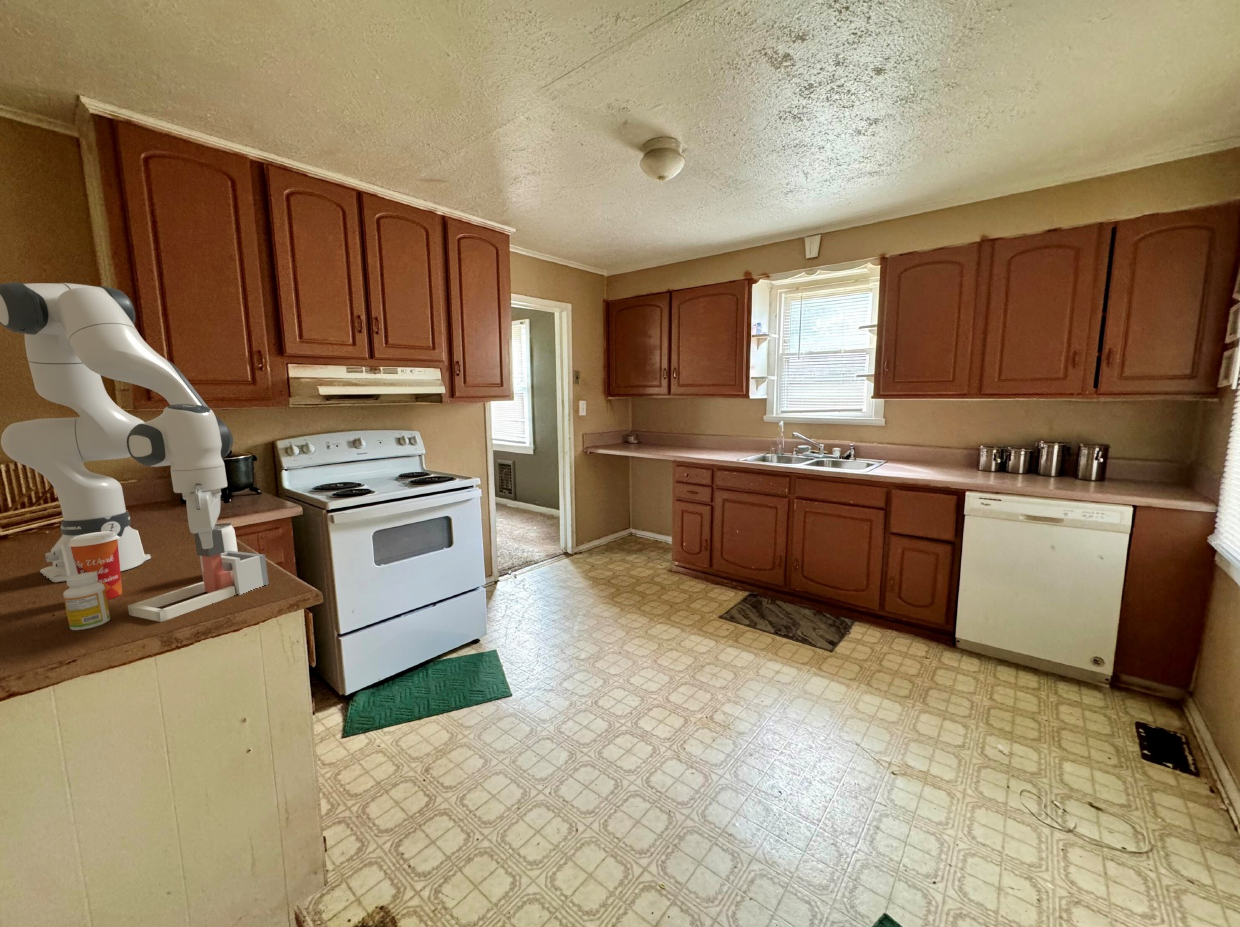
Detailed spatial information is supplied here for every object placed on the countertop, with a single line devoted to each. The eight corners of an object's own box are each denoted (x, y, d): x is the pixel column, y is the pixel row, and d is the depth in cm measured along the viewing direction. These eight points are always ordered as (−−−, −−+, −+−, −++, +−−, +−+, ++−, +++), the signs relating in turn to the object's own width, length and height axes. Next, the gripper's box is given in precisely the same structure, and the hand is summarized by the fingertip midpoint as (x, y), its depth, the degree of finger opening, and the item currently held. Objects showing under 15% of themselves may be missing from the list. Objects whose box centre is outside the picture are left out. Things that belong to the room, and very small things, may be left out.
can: (221, 578, 119) (214, 529, 117) (199, 577, 120) (192, 529, 119) (247, 569, 125) (240, 522, 124) (225, 568, 127) (219, 522, 125)
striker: (200, 592, 109) (190, 532, 107) (215, 587, 112) (206, 528, 110) (218, 596, 107) (208, 534, 105) (233, 590, 110) (224, 530, 108)
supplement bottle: (89, 619, 98) (80, 571, 97) (118, 617, 99) (110, 569, 98) (61, 631, 93) (51, 581, 92) (92, 629, 94) (83, 579, 92)
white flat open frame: (129, 615, 100) (127, 605, 99) (204, 590, 112) (203, 581, 112) (161, 621, 96) (159, 612, 96) (235, 595, 108) (234, 586, 108)
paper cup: (71, 607, 105) (58, 542, 103) (88, 595, 111) (77, 533, 109) (121, 599, 108) (110, 536, 106) (135, 587, 115) (125, 528, 113)
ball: (236, 565, 115) (240, 582, 116) (217, 573, 111) (221, 589, 112) (248, 567, 114) (251, 583, 115) (229, 574, 110) (233, 591, 111)
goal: (204, 588, 113) (199, 554, 112) (234, 579, 118) (229, 546, 117) (240, 594, 108) (235, 559, 107) (268, 584, 114) (264, 550, 113)
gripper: (215, 485, 100) (225, 553, 101) (222, 474, 116) (230, 532, 118) (173, 490, 96) (184, 559, 98) (186, 477, 113) (195, 537, 115)
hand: (209, 544), depth 108 cm, fingers closed on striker, 5 cm apart
